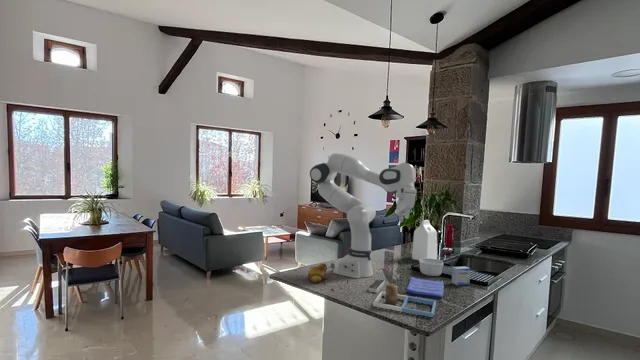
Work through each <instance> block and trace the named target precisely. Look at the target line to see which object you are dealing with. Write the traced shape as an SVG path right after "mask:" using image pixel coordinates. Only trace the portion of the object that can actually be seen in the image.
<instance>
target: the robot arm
mask: <svg viewBox="0 0 640 360" xmlns="http://www.w3.org/2000/svg"><path fill="white" fill-rule="evenodd" d="M339 174H341V175H344V176H347V177H351V178H355V179H358V180H362V181H365V182H367V183H370V184H373V185H374V186H377V187H378V186H379V187H380V188H382V189H383V190H384V191H385V192H386V193H388V194H392V195H393V194H396V196H395V197H396V198H398V200H397V203H396V209H395V214H396V215H398V220H399V221H398V222H399V223H403V222H404V219H409V218H410V213H411V210H412V209H413V208H414V207H415V204H416V195H417V191H418V190H417V189H416V188H415V182H416V170H415V166H413V165H412V164H410V163H409V162H401V163H399V164H398V165H395V166H394V167H391V168H384V169H382V170H381V171H380V173H377V172H374V171H372V170H370V169H369V168H368V167H367V166H366V165H365V164H364V163H363V162H362V161H361V160H360V159H358V158H356V157H354V156H352V155H348V154H343V153H333V154H331V155H330V156H329V157H328V160H327V162H321V163H318V164H316V165H314V166H312V168H311V169H310V170H309V177H310V180H311V181H312V182H314V183H317V184H319V186H318V188H317V189H318V190H317V191H318V194H319V196H321V198H323V199H324V200H325V201H326V202H327V203H329V204H330V205H332V206H333V208H336V210H338V211H340V212H342V213H345V214H346V219H347V222H348V223H349V228H350V235H351V241H350V244H351V245H350V247H349V248H348V249H347V251H346V253H347V254H346V255H344V256H343V257H342V258H340V260H338V263H337V267H335V268H333V271H332V273H333V274H335V275H339V276H344V277H348V278H353V279H360V278H370V277H372V276H373V275H374V272H373V266H372V265H373V264H372V258H373V251H372V250H373V249H372V234H371V231H370V226H369V224H370V222H371V223H372V221H373V220H374V219H375V217H376V213H377V211H376V208H375V207H374V206H373V205H372V204H369V203H367V202H365V201H363V200H361V199H359V198H357V197H355V196H354V195H352V194H351V193H349V192H348V191H346V190H345V189H343V188H341V187H340V186H338V185H337V184H336V182H337V180H338V176H339Z"/></svg>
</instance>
